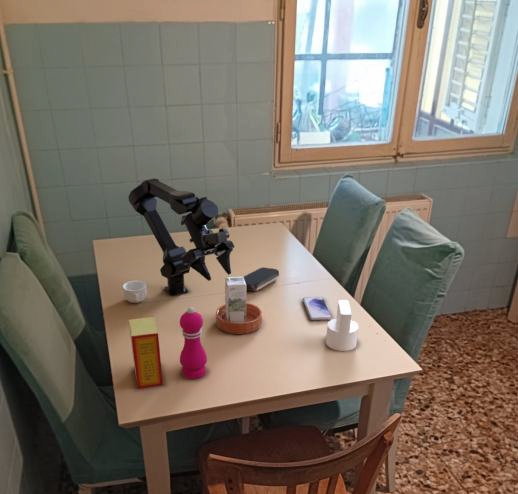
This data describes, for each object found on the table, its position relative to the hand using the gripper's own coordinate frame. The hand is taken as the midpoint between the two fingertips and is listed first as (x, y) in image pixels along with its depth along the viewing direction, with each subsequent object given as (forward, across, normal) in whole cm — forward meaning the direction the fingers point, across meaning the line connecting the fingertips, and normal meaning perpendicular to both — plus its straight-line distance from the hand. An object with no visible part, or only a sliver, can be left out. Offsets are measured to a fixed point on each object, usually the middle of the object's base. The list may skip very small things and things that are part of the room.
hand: (220, 277), depth 176 cm
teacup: (-6, -9, +31) cm, 33 cm away
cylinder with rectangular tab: (+34, +12, -22) cm, 42 cm away
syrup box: (+15, +1, +3) cm, 15 cm away
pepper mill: (+24, -27, -2) cm, 36 cm away
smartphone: (+22, +24, -10) cm, 34 cm away
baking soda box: (+19, -36, +5) cm, 42 cm away
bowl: (+16, +1, +2) cm, 16 cm away
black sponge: (+4, +28, +11) cm, 30 cm away
